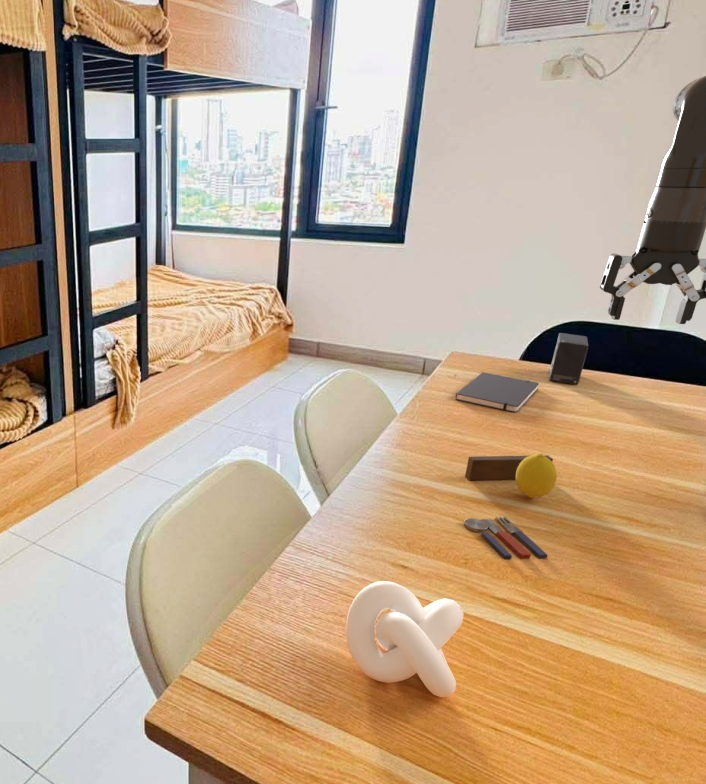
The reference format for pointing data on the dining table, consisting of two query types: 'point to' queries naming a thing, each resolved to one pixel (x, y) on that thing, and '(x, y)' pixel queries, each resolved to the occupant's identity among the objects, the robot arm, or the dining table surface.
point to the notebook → (498, 392)
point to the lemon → (536, 476)
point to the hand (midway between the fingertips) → (646, 320)
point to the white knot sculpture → (402, 636)
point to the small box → (568, 358)
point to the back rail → (494, 467)
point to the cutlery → (505, 537)
